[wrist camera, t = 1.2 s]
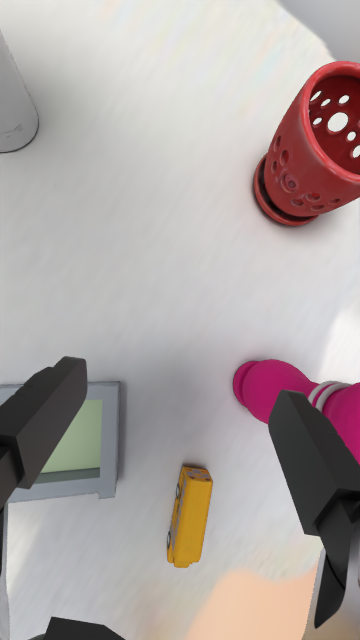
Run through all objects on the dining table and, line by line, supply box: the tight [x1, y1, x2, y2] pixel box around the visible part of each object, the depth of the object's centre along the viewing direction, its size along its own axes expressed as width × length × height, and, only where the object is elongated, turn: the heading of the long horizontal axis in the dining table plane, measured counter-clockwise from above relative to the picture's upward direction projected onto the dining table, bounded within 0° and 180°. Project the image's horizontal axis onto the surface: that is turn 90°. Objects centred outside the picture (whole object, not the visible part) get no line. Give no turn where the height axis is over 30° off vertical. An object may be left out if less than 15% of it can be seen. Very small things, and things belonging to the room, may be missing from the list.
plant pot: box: [254, 61, 360, 226], centre depth 28 cm, size 13×13×12 cm
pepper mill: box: [233, 359, 360, 465], centre depth 20 cm, size 7×7×20 cm
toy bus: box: [167, 466, 213, 568], centre depth 25 cm, size 3×10×4 cm, turn 168°
